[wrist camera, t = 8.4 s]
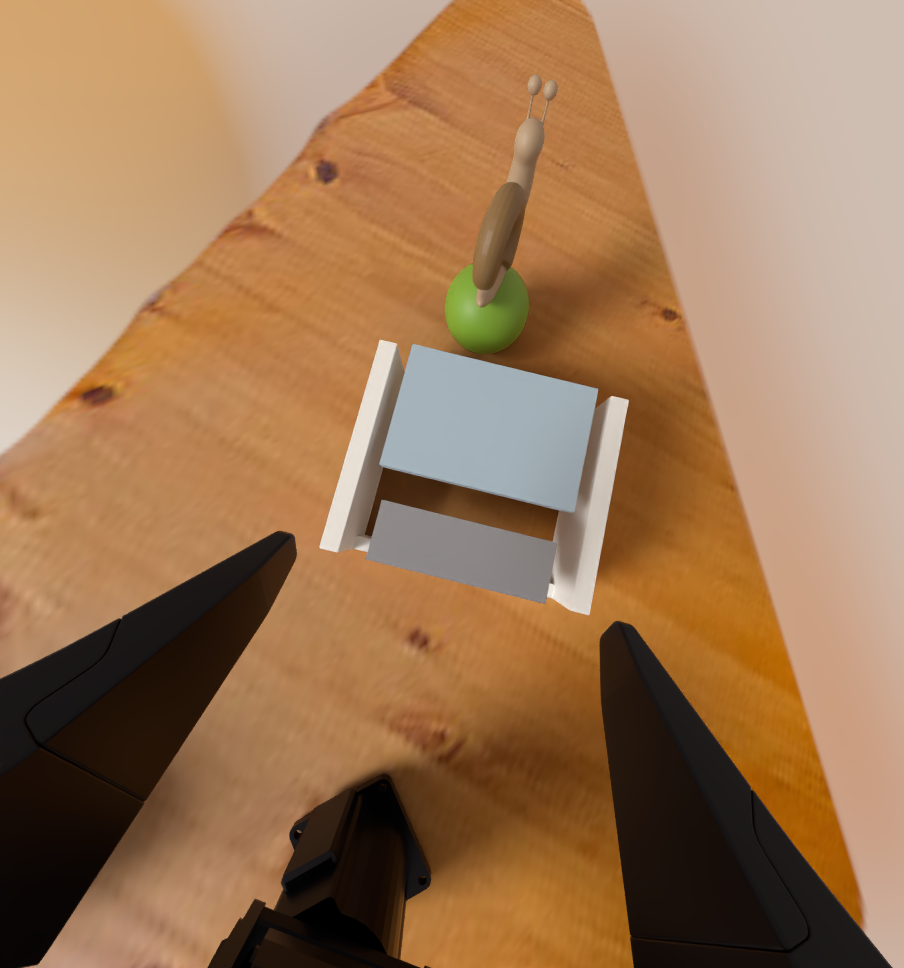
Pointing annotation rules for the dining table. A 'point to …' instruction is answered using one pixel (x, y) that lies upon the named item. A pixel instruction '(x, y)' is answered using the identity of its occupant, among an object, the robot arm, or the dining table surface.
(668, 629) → the dining table surface
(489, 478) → the trapdoor
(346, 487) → the frame
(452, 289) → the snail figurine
